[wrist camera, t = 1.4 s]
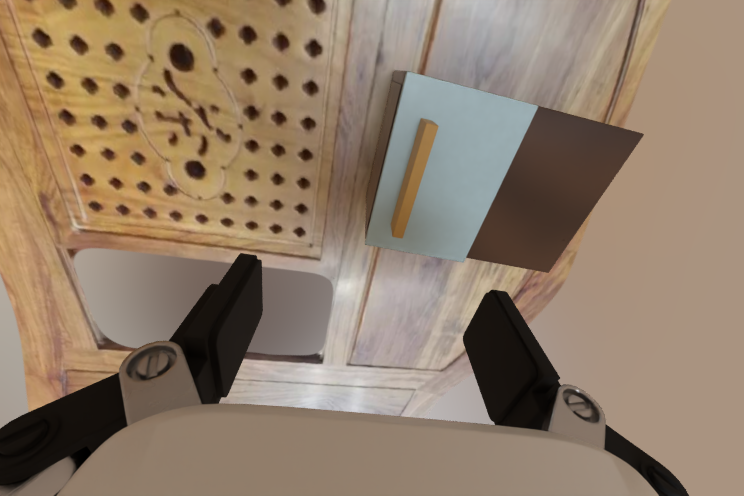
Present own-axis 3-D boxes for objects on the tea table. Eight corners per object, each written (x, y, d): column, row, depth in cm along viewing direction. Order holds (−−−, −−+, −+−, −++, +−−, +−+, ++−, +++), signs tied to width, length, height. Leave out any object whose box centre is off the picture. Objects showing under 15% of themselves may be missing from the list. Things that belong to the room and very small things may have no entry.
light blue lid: (406, 70, 18) (411, 71, 15) (534, 104, 19) (556, 109, 16) (364, 241, 24) (364, 258, 22) (461, 258, 25) (470, 277, 23)
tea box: (393, 70, 26) (405, 70, 18) (565, 115, 28) (644, 134, 20) (365, 196, 33) (365, 239, 24) (506, 225, 35) (548, 273, 27)
